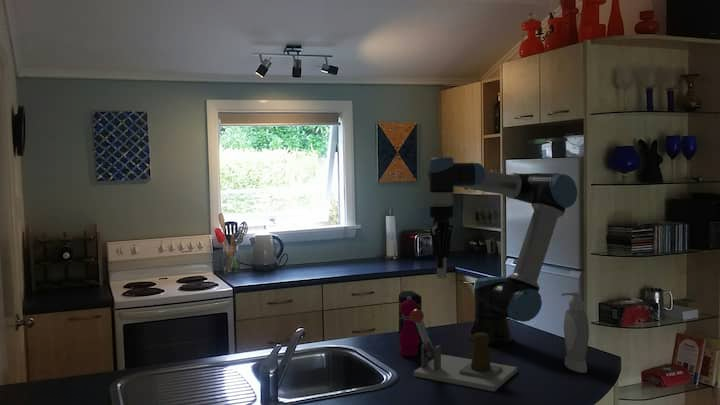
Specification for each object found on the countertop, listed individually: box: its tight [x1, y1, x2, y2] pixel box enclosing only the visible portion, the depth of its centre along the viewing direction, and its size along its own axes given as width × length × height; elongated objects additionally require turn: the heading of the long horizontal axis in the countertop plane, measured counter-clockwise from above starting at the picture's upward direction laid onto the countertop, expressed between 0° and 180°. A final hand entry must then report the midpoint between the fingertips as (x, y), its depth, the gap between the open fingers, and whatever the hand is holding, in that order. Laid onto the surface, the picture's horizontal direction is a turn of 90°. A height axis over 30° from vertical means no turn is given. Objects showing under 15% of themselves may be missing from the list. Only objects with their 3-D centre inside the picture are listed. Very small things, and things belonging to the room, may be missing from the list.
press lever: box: [410, 309, 434, 360], centre depth 198 cm, size 4×4×20 cm
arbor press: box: [413, 343, 518, 392], centre depth 201 cm, size 20×26×8 cm
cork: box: [471, 333, 491, 372], centre depth 199 cm, size 6×6×11 cm
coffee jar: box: [398, 290, 423, 345], centre depth 236 cm, size 10×8×19 cm
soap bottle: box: [561, 291, 590, 374], centre depth 205 cm, size 13×8×24 cm, turn 13°
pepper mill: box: [398, 296, 421, 357], centre depth 223 cm, size 7×7×20 cm
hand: (441, 277), depth 210 cm, fingers closed
